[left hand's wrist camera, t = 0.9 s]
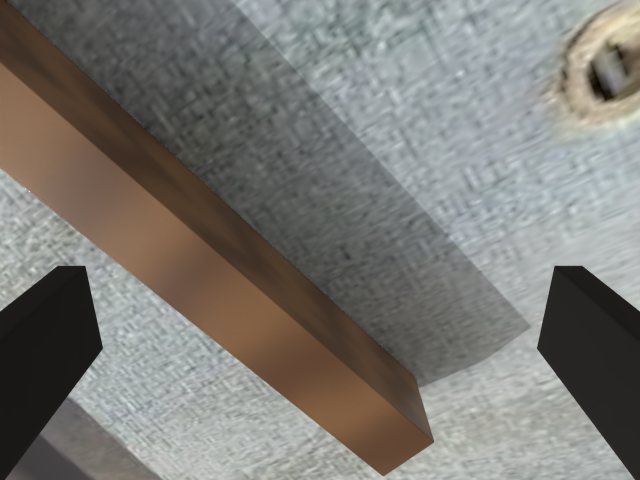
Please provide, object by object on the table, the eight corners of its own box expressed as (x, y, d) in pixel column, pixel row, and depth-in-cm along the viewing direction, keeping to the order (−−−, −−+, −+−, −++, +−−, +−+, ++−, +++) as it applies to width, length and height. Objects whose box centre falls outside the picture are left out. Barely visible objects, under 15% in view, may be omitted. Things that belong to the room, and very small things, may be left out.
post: (-313, -181, 28) (-542, -267, 20) (-280, -263, 26) (-512, -388, 19) (372, 408, 45) (383, 477, 37) (415, 377, 43) (434, 442, 36)
